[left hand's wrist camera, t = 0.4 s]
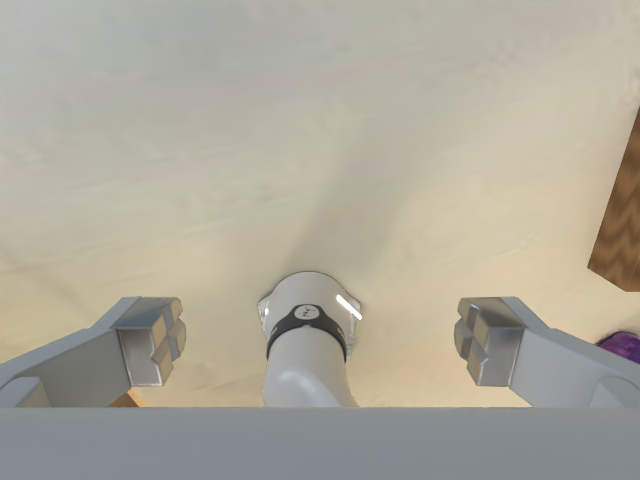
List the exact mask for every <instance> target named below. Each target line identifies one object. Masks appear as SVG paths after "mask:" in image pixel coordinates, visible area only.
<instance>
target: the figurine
mask: <svg viewBox="0 0 640 480" xmlns="http://www.w3.org/2000/svg"><path fill="white" fill-rule="evenodd" d="M599 347H600V348H602V349H605V350H607V351H609V352H612V353H614V354H616V355H619V356H621V357H623V358H626V359H628V360H630V361H633V362H635V363H637V364H640V336H638V335H635V334H631V333H627V332H620V333H617V334H615V335H613V337H611V338H609V339H608V340H606V341H605V342H603V343H602V344H601V345H600V346H599Z"/></svg>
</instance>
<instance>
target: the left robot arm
mask: <svg viewBox="0 0 640 480" xmlns="http://www.w3.org/2000/svg"><path fill="white" fill-rule="evenodd" d="M258 311H259V314H260V317H261V320H262V324H263V331H264V332H265V335H266V338H267V341H268V344H267V361H268V363H267V368H266V373H265V378H264V383H263V388H262V395H263V401H264V404H265V407H107V406H108V405H110V404H111V403H112V402H114V401H115V400H116V399H118V398H119V397H120V396H122V395H123V394H124V393H125V392H127V391H128V390H129V389H131V387H142V386H163V385H164V384H165V382H166V380H167V378H168V377H169V375H170V373H171V371H172V370H173V363H172V361H174V360H175V359H177V358H178V357H180V355H181V353H182V351H183V349H184V345H185V341H186V329H185V324H184V323H183V322H182V321H181V320H180V319H179V318H178V317H179V316H180V314H181V313H182V306H181V301H180V300H179V299H178V298H176V297H123V298H121V299H120V300H119V301H118V302H117V303H116V304H115V305H114V306H113V307H112V308H111V309H110V310H109V311H108V312H107V313H106V314H105V315H103V316H102V317H101V318H100V319H99V320H98V321H97V322H96V323H95V324H94V325H93V326H92V327H91V328H90V329H82V330H80V331H77V332H75V333H73V334H70V335H68V336H66V337H63V338H61V339H59V340H56V341H54V342H51V343H49V344H47V345H44V346H42V347H40V348H37V349H35V350H33V351H30V352H28V353H26V354H23V355H21V356H19V357H16V358H14V359H12V360H9V361H7V362H5V363H2V364H0V480H640V364H637V363H635V362H633V361H630V360H628V359H626V358H623V357H621V356H619V355H616V354H614V353H612V352H609V351H607V350H605V349H602V348H600V347H598V346H595V345H593V344H591V343H588V342H586V341H584V340H581V339H579V338H577V337H574V336H572V335H570V334H567V333H565V332H563V331H560V330H558V329H550V328H549V327H548V326H547V325H546V324H545V323H544V322H543V321H542V320H541V319H540V318H539V317H538V316H537V315H536V314H534V313H533V312H532V311H531V310H530V309H529V308H528V307H527V306H526V305H525V304H524V303H523V302H522V301H521V300H520V299H519V298H517V297H514V296H513V297H478V298H461V300H460V302H459V305H458V313H459V314H460V316H461V317H462V318H461V319H460V320H459V321H458V322H457V323H456V324H455V330H454V340H455V346H456V349H457V351H458V353H459V355H460V357H462V358H463V359H465V360H466V361H468V363H467V370H468V371H469V373H470V375H471V377H472V378H473V380H474V382H475V384H476V385H477V386H498V387H509V389H511V390H512V391H513V392H515V393H516V394H517V395H519V396H520V397H521V398H522V399H524V400H525V401H526V402H528V403H529V404H530V405H532V406H533V407H360V406H359V405H358V404H357V402H356V401H355V399H354V398H353V396H352V394H351V392H350V389H349V386H348V381H347V376H346V370H345V363H346V359H351V356H352V346H350V344H351V343H353V333H354V330H355V326H356V323H357V319H358V318H359V319H361V315H360V314H359V312H360V303H359V302H358V301H357V300H356V299H354V298H352V297H351V296H349V295H348V294H347V293H346V292H345V291H344V289H343V288H342V286H341V285H340V284H339V283H338V282H337V281H335V280H334V279H333V278H331V277H329V276H327V275H325V274H322V273H317V272H300V273H296V274H293V275H291V276H289V277H287V278H285V279H284V280H283V281H281V282H280V283H279V284H278V285H277V287H276V288H275V289H274V291H273V292H272V293H271V294H270V295H269V296H267V297H265V298H264V299H262V300H261V301H260V302H259V304H258ZM264 311H265V312H264Z"/></svg>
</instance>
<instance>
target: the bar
mask: <svg viewBox="0 0 640 480" xmlns="http://www.w3.org/2000/svg"><path fill="white" fill-rule="evenodd" d="M587 268H588V269H590V270H592V271H593V272H595V273H596V274H598V275H600V276H601V277H603V278H604V279H606V280H608V281H609V282H611V283H612V284H614V285H616V286H617V287H619V288H621V289H622V290H624V291H625V292H640V108H639V111H638V114H637V117H636V120H635V123H634V126H633V130H632V133H631V136H630V139H629V142H628V145H627V148H626V151H625V154H624V157H623V160H622V163H621V166H620V169H619V172H618V175H617V179H616V182H615V185H614V188H613V191H612V194H611V197H610V200H609V203H608V206H607V209H606V212H605V215H604V218H603V221H602V224H601V228H600V231H599V234H598V237H597V240H596V243H595V246H594V249H593V252H592V255H591V258H590V261H589V264H588V267H587Z"/></svg>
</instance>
